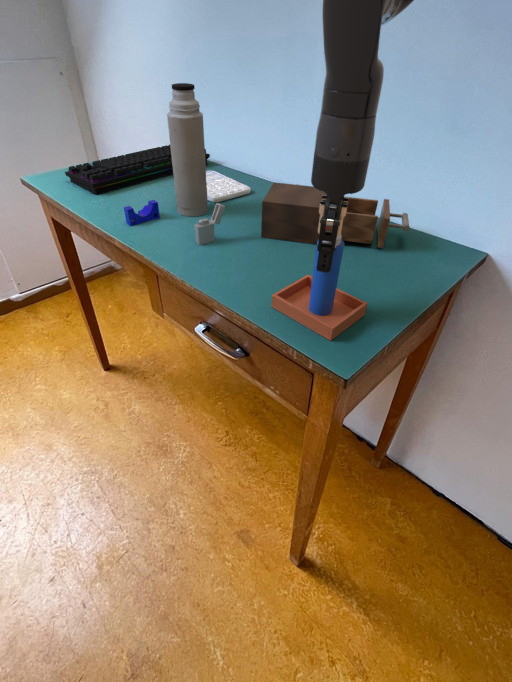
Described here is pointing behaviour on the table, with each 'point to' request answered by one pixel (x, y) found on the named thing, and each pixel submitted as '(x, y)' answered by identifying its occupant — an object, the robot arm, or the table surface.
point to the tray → (329, 326)
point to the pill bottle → (325, 282)
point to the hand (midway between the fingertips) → (324, 263)
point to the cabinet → (291, 213)
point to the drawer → (369, 221)
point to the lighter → (208, 226)
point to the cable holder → (142, 213)
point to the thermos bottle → (187, 151)
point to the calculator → (223, 187)
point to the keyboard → (123, 170)
